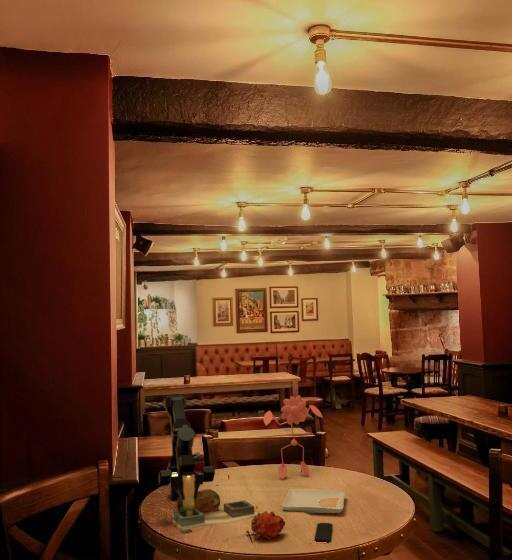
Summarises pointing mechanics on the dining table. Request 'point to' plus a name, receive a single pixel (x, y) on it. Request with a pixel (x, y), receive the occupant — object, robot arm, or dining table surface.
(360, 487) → the dining table surface
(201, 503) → the brown flat oval piece
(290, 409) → the pink flower figurine
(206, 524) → the dock board
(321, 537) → the remote control
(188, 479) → the brass peg
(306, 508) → the salad plate
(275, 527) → the dragon fruit
